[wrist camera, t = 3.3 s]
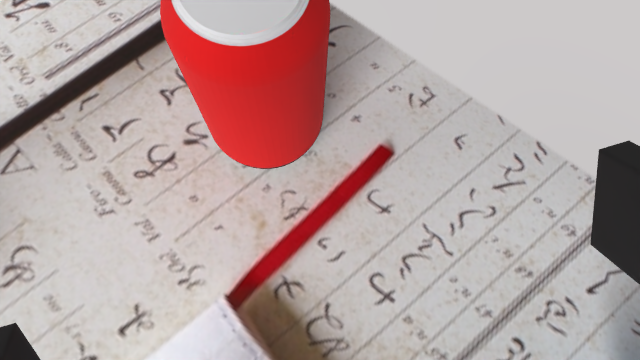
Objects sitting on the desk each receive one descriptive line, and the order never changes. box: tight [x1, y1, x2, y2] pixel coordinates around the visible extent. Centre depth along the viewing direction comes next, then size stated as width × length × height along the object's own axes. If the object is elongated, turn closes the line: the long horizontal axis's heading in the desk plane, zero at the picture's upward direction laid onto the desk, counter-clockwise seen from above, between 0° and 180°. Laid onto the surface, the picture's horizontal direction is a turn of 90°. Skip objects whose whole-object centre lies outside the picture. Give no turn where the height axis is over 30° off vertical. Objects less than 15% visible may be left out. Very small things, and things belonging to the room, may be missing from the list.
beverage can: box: [160, 0, 330, 169], centre depth 23 cm, size 6×6×12 cm
